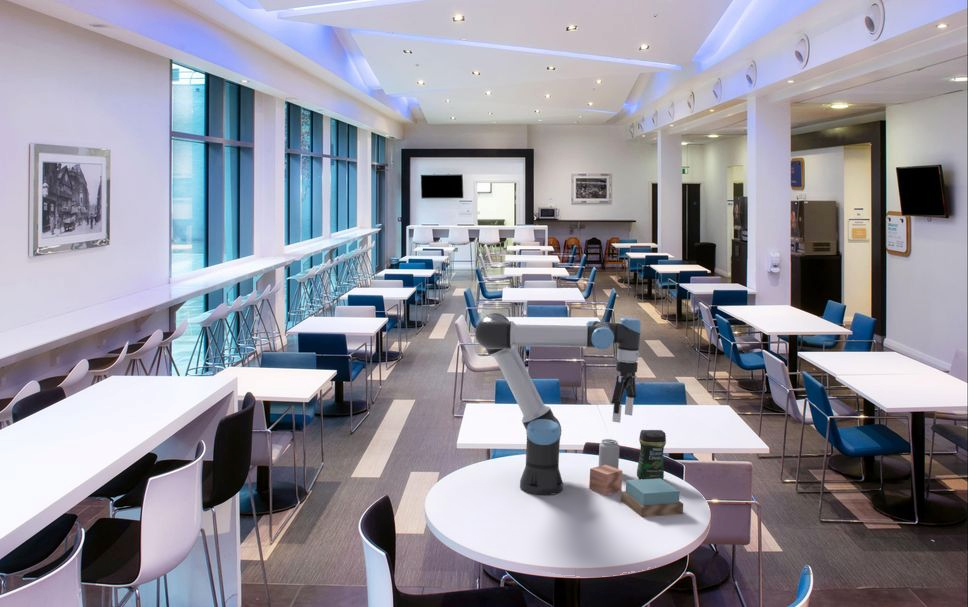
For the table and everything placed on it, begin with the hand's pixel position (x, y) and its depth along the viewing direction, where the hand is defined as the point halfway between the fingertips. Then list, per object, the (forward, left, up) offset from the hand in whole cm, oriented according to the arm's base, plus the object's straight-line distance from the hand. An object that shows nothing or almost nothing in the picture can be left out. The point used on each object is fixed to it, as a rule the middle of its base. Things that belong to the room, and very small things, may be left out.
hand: (622, 418), depth 285 cm
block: (-9, -7, -24) cm, 26 cm away
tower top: (-1, -26, -20) cm, 33 cm away
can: (+1, +12, -24) cm, 27 cm away
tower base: (-1, -26, -24) cm, 36 cm away
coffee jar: (+13, +1, -24) cm, 27 cm away
